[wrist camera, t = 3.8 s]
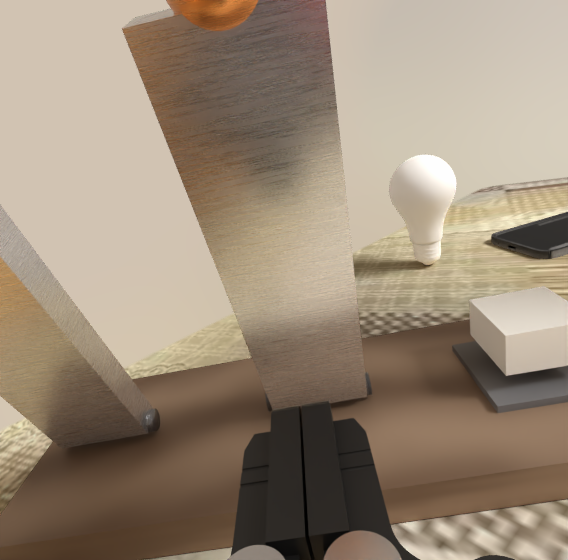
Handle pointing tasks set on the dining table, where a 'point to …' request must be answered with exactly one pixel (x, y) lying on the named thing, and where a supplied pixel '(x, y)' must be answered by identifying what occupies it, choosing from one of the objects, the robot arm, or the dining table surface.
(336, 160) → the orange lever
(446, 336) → the walnut panel
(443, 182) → the lightbulb
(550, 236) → the phone
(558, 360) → the white button
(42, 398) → the grey upright post
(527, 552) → the dining table surface
